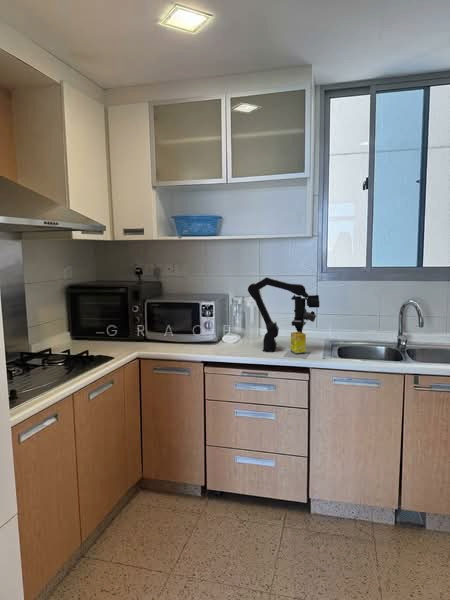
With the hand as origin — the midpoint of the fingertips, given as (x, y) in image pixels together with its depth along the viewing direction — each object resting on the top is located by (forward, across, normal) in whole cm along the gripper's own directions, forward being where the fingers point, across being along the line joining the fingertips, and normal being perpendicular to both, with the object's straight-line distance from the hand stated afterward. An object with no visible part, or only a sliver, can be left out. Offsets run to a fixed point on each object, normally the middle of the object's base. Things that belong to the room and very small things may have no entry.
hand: (300, 335), depth 225 cm
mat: (+9, -8, +1) cm, 12 cm away
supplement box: (+9, -5, 0) cm, 10 cm away
